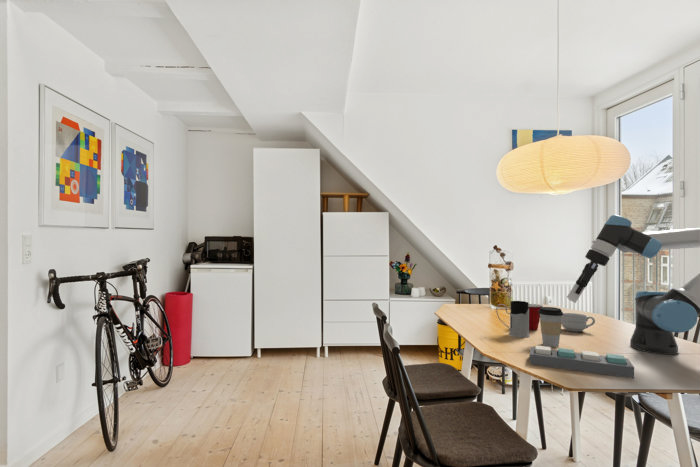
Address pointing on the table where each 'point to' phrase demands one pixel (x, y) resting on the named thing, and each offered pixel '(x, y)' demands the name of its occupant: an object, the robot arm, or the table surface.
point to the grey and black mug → (518, 319)
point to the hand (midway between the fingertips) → (570, 300)
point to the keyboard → (582, 364)
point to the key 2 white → (590, 355)
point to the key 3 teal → (566, 353)
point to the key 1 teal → (615, 358)
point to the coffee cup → (550, 325)
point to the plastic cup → (534, 316)
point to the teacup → (575, 322)
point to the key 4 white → (543, 350)
